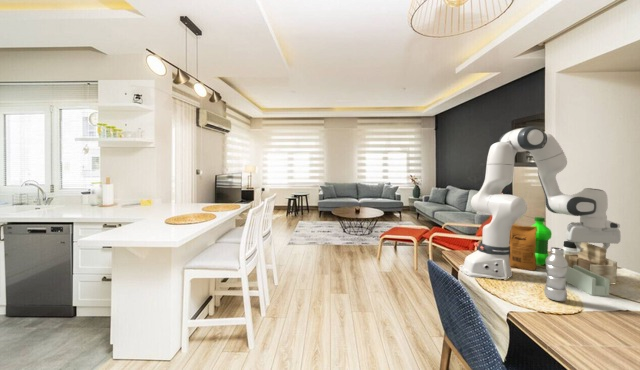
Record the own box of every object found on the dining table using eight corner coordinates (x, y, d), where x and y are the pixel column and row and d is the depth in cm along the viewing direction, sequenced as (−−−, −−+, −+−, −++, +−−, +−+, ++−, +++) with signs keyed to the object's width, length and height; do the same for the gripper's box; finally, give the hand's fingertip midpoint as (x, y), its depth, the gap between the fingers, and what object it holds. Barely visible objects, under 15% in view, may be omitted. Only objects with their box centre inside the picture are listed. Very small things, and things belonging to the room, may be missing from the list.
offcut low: (575, 274, 128) (576, 264, 128) (567, 270, 134) (568, 261, 133) (583, 275, 128) (583, 264, 128) (574, 271, 133) (575, 261, 133)
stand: (591, 295, 107) (592, 278, 106) (560, 278, 124) (561, 264, 123) (608, 296, 106) (609, 279, 106) (575, 279, 123) (576, 264, 122)
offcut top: (576, 264, 128) (577, 258, 128) (568, 261, 133) (568, 255, 133) (583, 264, 128) (583, 258, 128) (574, 261, 133) (574, 255, 133)
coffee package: (507, 261, 147) (509, 222, 146) (536, 266, 139) (538, 225, 138) (505, 266, 140) (506, 224, 139) (535, 272, 131) (537, 228, 130)
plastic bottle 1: (530, 259, 151) (532, 215, 150) (553, 264, 142) (555, 218, 141) (522, 262, 146) (523, 217, 145) (546, 268, 137) (548, 219, 136)
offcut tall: (588, 280, 121) (589, 263, 121) (577, 275, 127) (578, 259, 127) (596, 281, 121) (597, 263, 120) (585, 276, 127) (586, 259, 126)
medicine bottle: (583, 265, 142) (584, 242, 141) (569, 265, 142) (570, 242, 141) (570, 260, 149) (571, 239, 148) (557, 260, 149) (558, 239, 148)
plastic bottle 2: (562, 305, 99) (564, 252, 98) (540, 297, 105) (542, 247, 104) (570, 301, 102) (572, 249, 101) (548, 294, 108) (550, 245, 107)
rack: (589, 283, 119) (591, 260, 118) (560, 268, 136) (561, 249, 136) (615, 284, 117) (617, 262, 117) (582, 269, 135) (583, 250, 134)
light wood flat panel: (598, 281, 121) (600, 248, 120) (577, 271, 133) (578, 241, 132) (604, 281, 120) (606, 248, 120) (582, 271, 132) (584, 242, 131)
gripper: (572, 223, 124) (571, 252, 124) (624, 224, 120) (622, 254, 121) (562, 220, 130) (561, 248, 131) (611, 222, 127) (610, 250, 127)
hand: (591, 251), depth 126 cm, fingers open, 8 cm apart
